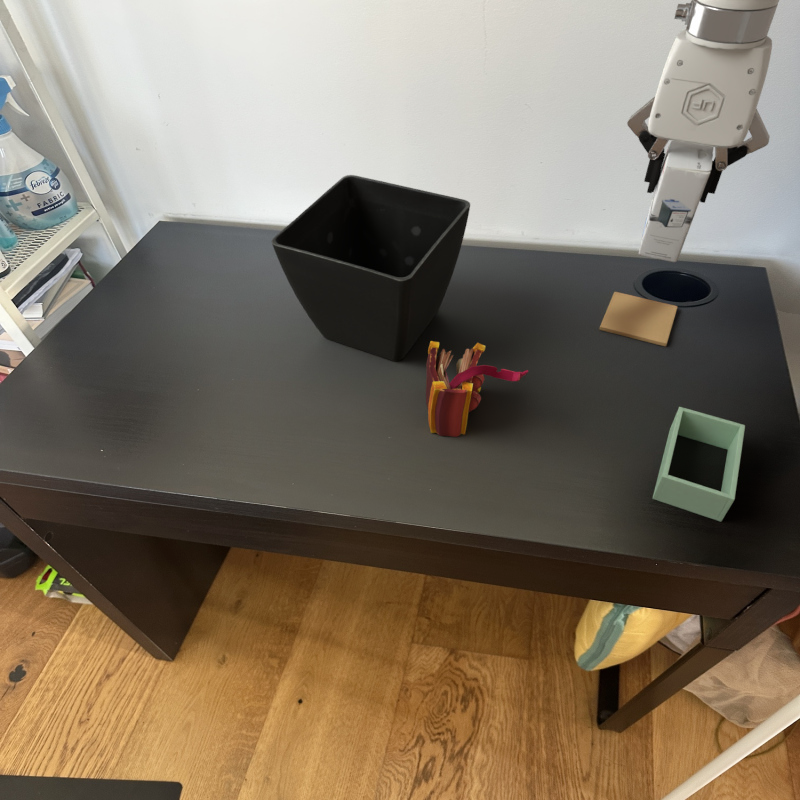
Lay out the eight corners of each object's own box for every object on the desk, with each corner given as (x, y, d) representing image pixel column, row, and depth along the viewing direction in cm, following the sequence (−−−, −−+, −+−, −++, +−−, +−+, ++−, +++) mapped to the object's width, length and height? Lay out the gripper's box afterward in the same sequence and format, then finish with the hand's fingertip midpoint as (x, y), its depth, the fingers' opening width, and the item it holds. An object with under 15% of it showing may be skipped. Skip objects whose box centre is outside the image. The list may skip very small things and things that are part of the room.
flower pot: (410, 387, 81) (407, 278, 69) (289, 346, 87) (266, 240, 75) (467, 305, 92) (473, 200, 80) (356, 275, 99) (346, 173, 87)
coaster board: (676, 309, 90) (677, 306, 90) (665, 346, 85) (666, 343, 84) (613, 294, 93) (614, 291, 93) (599, 329, 88) (600, 326, 87)
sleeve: (732, 448, 72) (745, 425, 69) (721, 522, 65) (734, 499, 62) (669, 429, 74) (679, 406, 72) (652, 498, 68) (662, 476, 65)
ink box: (645, 222, 83) (669, 134, 75) (685, 228, 82) (714, 139, 73) (637, 256, 78) (663, 165, 69) (680, 264, 76) (711, 171, 68)
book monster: (427, 380, 81) (519, 398, 79) (411, 432, 75) (510, 453, 74) (431, 317, 73) (534, 335, 72) (414, 370, 67) (525, 391, 66)
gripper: (633, 24, 63) (598, 193, 76) (825, 42, 57) (751, 221, 70) (648, 4, 67) (612, 167, 80) (826, 19, 62) (757, 191, 75)
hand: (677, 191), depth 75 cm, fingers closed on ink box, 5 cm apart
